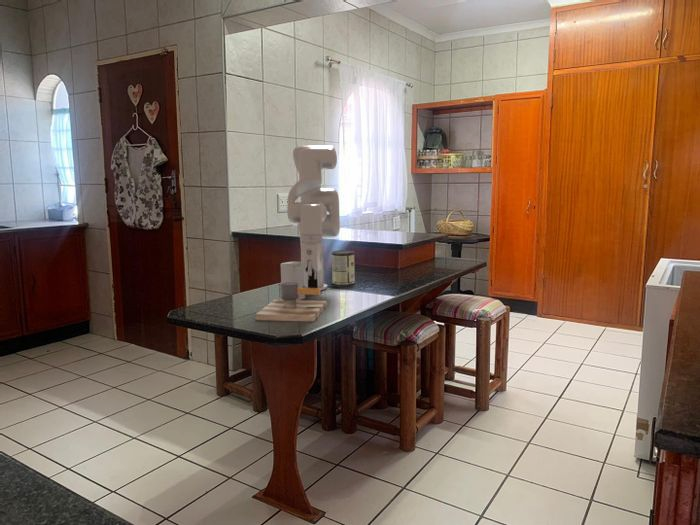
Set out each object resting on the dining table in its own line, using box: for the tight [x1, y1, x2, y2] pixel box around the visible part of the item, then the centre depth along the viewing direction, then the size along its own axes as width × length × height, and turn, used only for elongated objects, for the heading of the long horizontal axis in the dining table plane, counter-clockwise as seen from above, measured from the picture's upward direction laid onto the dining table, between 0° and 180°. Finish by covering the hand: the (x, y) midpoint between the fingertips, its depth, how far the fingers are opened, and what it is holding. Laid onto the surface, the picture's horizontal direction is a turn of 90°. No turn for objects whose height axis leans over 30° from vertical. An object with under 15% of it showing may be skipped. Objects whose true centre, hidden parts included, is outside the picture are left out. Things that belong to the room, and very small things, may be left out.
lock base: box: [255, 299, 328, 323], centre depth 191 cm, size 22×20×5 cm
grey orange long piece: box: [280, 282, 322, 300], centre depth 189 cm, size 14×6×5 cm, turn 78°
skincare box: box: [280, 261, 306, 300], centre depth 211 cm, size 8×6×15 cm
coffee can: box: [331, 249, 356, 286], centre depth 244 cm, size 10×10×14 cm
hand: (312, 289), depth 194 cm, fingers closed
